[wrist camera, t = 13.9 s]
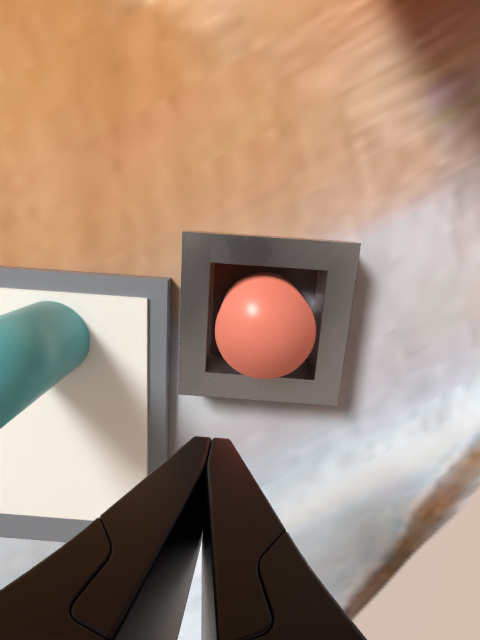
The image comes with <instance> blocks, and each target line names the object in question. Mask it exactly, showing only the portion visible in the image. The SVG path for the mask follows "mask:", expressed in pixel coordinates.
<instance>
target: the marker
mask: <svg viewBox="0 0 480 640" xmlns="http://www.w3.org/2000/svg"><path fill="white" fill-rule="evenodd" d="M89 347H90V337H89V332H88V329H87V327H86V325H85V323H84V321H83V320H82V318H81V317H80V316H79V315H78V314H77V313H76V312H75V311H74V310H72V309H71V308H70V307H68V306H66V305H64V304H62V303H58V302H54V301H40V302H36V303H33V304H31V305H28V306H25V307H22V308H20V309H17V310H14V311H11V312H8V313H6V314H3V315H0V429H1V428H2V427H3V426H5V425H6V424H7V423H8V422H10V421H11V420H12V419H13V418H15V417H16V416H17V415H18V414H20V413H21V412H22V411H23V410H25V409H26V408H27V407H28V406H30V405H31V404H32V403H33V402H35V401H36V400H37V399H38V398H40V397H41V396H42V395H43V394H45V393H46V392H47V391H48V390H50V389H51V388H52V387H53V386H55V385H56V384H57V383H58V382H59V381H61V380H62V379H63V378H64V377H66V376H67V375H68V374H69V373H71V372H72V371H73V370H74V369H76V368H77V367H78V366H79V365H80V364H81V363H82V362H83V361H84V360H85V358H86V356H87V354H88V352H89Z"/></svg>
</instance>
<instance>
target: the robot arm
mask: <svg viewBox="0 0 480 640" xmlns="http://www.w3.org/2000/svg"><path fill="white" fill-rule="evenodd" d="M202 534H203V536H202ZM201 540H202V635H201V640H367V639H366V638H365V637H364V636H363V634H362V633H361V632H360V630H359V629H358V628H357V627H356V625H355V624H354V623H353V622H352V620H351V619H350V618H349V617H348V615H347V614H346V613H345V612H344V610H343V609H342V608H341V607H340V605H339V604H338V603H337V602H336V600H335V599H334V598H333V597H332V595H331V594H330V593H329V591H328V590H327V589H326V588H325V586H324V585H323V584H322V582H321V581H320V580H319V578H318V577H317V576H316V574H315V573H314V572H313V570H312V569H311V568H310V566H309V565H308V563H307V562H306V560H305V559H304V557H303V556H302V554H301V553H300V551H299V550H298V548H297V547H296V545H295V543H294V542H293V540H292V539H291V537H290V535H289V534H288V533H287V532H286V529H285V528H284V526H283V524H282V523H281V521H280V519H279V518H278V516H277V515H276V513H275V511H274V510H273V508H272V507H271V505H270V503H269V502H268V500H267V499H266V497H265V495H264V494H263V492H262V490H261V489H260V487H259V486H258V484H257V482H256V481H255V479H254V478H253V476H252V474H251V473H250V471H249V470H248V468H247V466H246V465H245V463H244V461H243V460H242V458H241V457H240V455H239V453H238V452H237V450H236V449H235V447H234V445H233V444H232V442H231V441H230V440H229V439H224V438H214V439H212V440H211V438H209V437H197V436H196V437H193V438H192V439H191V440H190V441H189V442H187V443H186V444H185V445H184V446H183V447H181V448H180V449H179V450H178V451H177V452H175V453H174V454H173V455H172V456H171V457H169V458H168V459H167V460H166V461H165V462H163V463H162V464H161V465H160V466H159V467H157V468H156V469H155V470H154V471H153V472H151V473H150V474H149V475H148V476H147V477H146V478H144V479H143V480H142V481H141V482H140V483H138V484H137V485H136V486H135V487H134V488H132V489H131V490H130V491H129V492H128V493H126V494H125V495H124V496H123V497H122V498H120V499H119V500H118V501H117V502H116V503H114V504H113V505H112V506H111V507H110V508H108V509H107V510H106V511H105V512H104V513H103V514H101V515H100V518H96V519H95V520H94V521H93V522H92V523H90V524H89V525H88V526H87V527H86V528H84V529H83V530H82V531H81V532H79V533H78V534H77V535H76V536H74V537H73V538H72V539H71V540H69V541H68V542H67V543H66V544H64V545H63V546H62V547H61V548H59V549H58V550H56V551H55V552H54V553H52V554H51V555H50V556H48V557H47V558H45V559H44V560H43V561H41V562H40V563H39V564H37V565H36V566H34V567H33V568H32V569H30V570H29V571H27V572H26V573H25V574H23V575H22V576H20V577H19V578H17V579H16V580H14V581H13V582H12V583H10V584H9V585H7V586H6V587H4V588H3V589H2V590H0V640H177V639H178V635H179V631H180V627H181V623H182V619H183V615H184V611H185V607H186V603H187V599H188V595H189V590H190V586H191V582H192V578H193V574H194V570H195V566H196V562H197V558H198V554H199V550H200V545H201Z"/></svg>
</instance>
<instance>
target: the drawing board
mask: <svg viewBox="0 0 480 640" xmlns="http://www.w3.org/2000/svg"><path fill="white" fill-rule="evenodd" d="M170 300H171V278H164V277H149V276H135V275H120V274H106V273H92V272H77V271H63V270H49V269H34V268H20V267H6V266H0V315H3V314H6V313H8V312H11V311H14V310H17V309H20V308H22V307H25V306H28V305H31V304H33V303H36V302H40V301H54V302H58V303H62V304H64V305H66V306H68V307H70V308H71V309H72V310H74V311H75V312H76V313H77V314H78V315H79V316H80V317H81V318H82V320H83V321H84V323H85V325H86V327H87V329H88V332H89V337H90V347H89V352H88V354H87V356H86V358H85V360H84V361H83V362H82V363H81V364H80V365H79V366H78V367H77V368H76V369H74V370H73V371H72V372H71V373H69V374H68V375H67V376H66V377H64V378H63V379H62V380H61V381H59V382H58V383H57V384H56V385H55V386H53V387H52V388H51V389H50V390H48V391H47V392H46V393H45V394H43V395H42V396H41V397H40V398H38V399H37V400H36V401H35V402H33V403H32V404H31V405H30V406H28V407H27V408H26V409H25V410H23V411H22V412H21V413H20V414H18V415H17V416H16V417H15V418H13V419H12V420H11V421H10V422H8V423H7V424H6V425H5V426H3V427H2V428H1V429H0V537H7V538H20V539H32V540H44V541H57V542H68V541H69V540H71V539H72V538H73V537H74V536H76V535H77V534H78V533H79V532H81V531H82V530H83V529H84V528H86V527H87V526H88V525H89V524H90V523H92V522H93V521H94V520H95V519H96V518H100V515H101V514H103V513H104V512H105V511H106V510H107V509H108V508H110V507H111V506H112V505H113V504H114V503H116V502H117V501H118V500H119V499H120V498H122V497H123V496H124V495H125V494H126V493H128V492H129V491H130V490H131V489H132V488H134V487H135V486H136V485H137V484H138V483H140V482H141V481H142V480H143V479H144V478H146V477H147V476H148V475H149V474H150V473H151V472H153V471H154V470H155V469H156V468H157V467H159V466H160V465H161V464H162V463H163V462H165V461H166V460H167V459H168V411H169V356H170Z"/></svg>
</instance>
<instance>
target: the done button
mask: <svg viewBox="0 0 480 640" xmlns="http://www.w3.org/2000/svg"><path fill="white" fill-rule="evenodd" d="M315 337H316V323H315V319H314V315H313V313H312V310H311V308H310V306H309V305H308V303H307V302H306V301H305V299H304V298H303V297H302V295H301V294H300V292H299V291H298V290H297V288H296V287H295V286H294V285H293V284H292V283H291V282H290V281H289V280H287V279H286V278H284V277H282V276H280V275H278V274H275V273H270V272H256V273H252V274H249V275H246V276H244V277H242V278H241V279H239V280H238V281H236V282H235V283H234V284H233V285H232V286H231V287H230V289H229V290H228V292H227V293H226V295H225V298H224V300H223V303H222V305H221V308H220V310H219V313H218V315H217V319H216V324H215V338H216V343H217V346H218V349H219V351H220V353H221V355H222V356H223V358H224V359H225V361H226V362H227V363H228V364H229V365H230V366H231V367H232V368H234V369H235V370H236V371H238V372H240V373H242V374H244V375H246V376H249V377H252V378H257V379H273V378H278V377H281V376H284V375H287V374H289V373H291V372H292V371H294V370H295V369H297V368H298V367H299V366H300V365H301V364H302V363H303V362H304V361H305V360H306V359H307V357H308V356H309V354H310V352H311V350H312V348H313V345H314V342H315Z"/></svg>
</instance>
